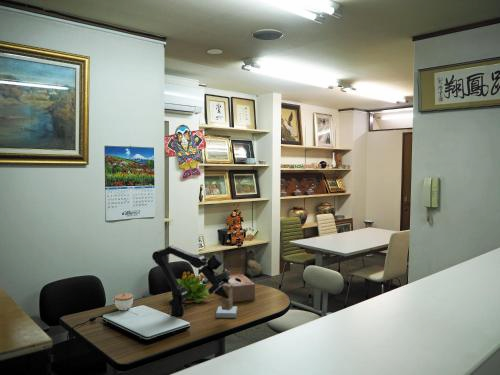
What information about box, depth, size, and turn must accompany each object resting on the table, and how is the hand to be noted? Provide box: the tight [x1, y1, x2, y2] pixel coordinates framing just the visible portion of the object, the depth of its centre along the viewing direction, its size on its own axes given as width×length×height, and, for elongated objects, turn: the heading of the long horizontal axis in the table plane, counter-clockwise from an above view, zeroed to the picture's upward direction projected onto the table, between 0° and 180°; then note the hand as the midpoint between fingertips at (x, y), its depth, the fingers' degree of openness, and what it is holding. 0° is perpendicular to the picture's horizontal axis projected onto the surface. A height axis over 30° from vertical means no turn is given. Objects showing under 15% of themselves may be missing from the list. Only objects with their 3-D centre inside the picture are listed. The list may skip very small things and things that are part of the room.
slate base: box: [215, 305, 238, 319], centre depth 231 cm, size 11×11×2 cm
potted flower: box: [171, 271, 211, 304], centre depth 255 cm, size 25×24×18 cm
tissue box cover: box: [227, 273, 256, 302], centre depth 267 cm, size 26×14×10 cm, turn 18°
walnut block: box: [221, 284, 233, 310], centre depth 220 cm, size 4×4×13 cm
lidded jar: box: [114, 292, 134, 311], centre depth 240 cm, size 11×11×9 cm
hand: (229, 296), depth 220 cm, fingers closed on walnut block, 4 cm apart
